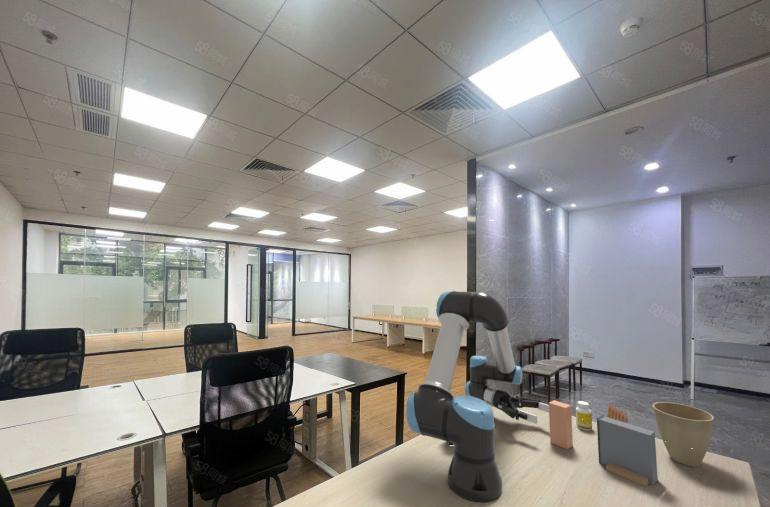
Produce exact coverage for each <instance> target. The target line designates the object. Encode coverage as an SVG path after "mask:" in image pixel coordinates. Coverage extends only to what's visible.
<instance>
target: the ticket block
mask: <svg viewBox="0 0 770 507" xmlns="http://www.w3.org/2000/svg"><path fill="white" fill-rule="evenodd" d="M596 428H597V430H596V432H597V450H598V451H597V452H598V463H599V464H601V465H603V466H605V470H606V471H608V472H611V473H613V474H615V475H618V476H620V477H622V478H626V479H627V480H630V481H631V482H634V483H637V484H639V485H642V486H644V487H647V486H648V485H649V484H650V485H652V486H654V485H655V484H656V483H657V481H658V480H659V479H658V466H657V465H658V463H657V462H658V461H657V447H656V434H655V433H656V431H653V430H649V429H647V428H643V427H640V426H637V425H635V424H631V423H629V422H628V423H625V422H621V421H618V420H615V419H611V418H608V417H607V416H605V415H603V414H601V415H600V416H598V417H597V418H596Z"/></svg>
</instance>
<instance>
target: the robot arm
mask: <svg viewBox="0 0 770 507" xmlns="http://www.w3.org/2000/svg"><path fill="white" fill-rule="evenodd" d="M435 306H436V310H435V313H436V317H437V319H438V321H439V323H440V328H439V332H438V335H437V338H436V342H435V345H434V348H433V351H432V352H433V353H432V356H431V359H430V364H429V367H428V371H427V374H426V377H425V382H422V383H421V384H419V385H418V389H417V391H413V392H411V393H410V395H409V396H408V397H407V400H406V408H405V416H406V417H405V418H406V422H407V425H408V427H409V429H410V430H411V431H412V432H414V433H417V434H420V435H421V436H426V437H430V438H434V439H436V440H441V441H445V442H447V443H448V442H451V443H453V445H454V447H453V454H452V459H451V461H450V464H449V467H448V471H447V482H448V486H449V488H450V489H451V490H452V491H453V492H454V493H455V494H457V495H458V496H460V497H462V498H463V499H466V500H469V501H473V502H478V503H479V502H480V503H481V502H482V503H483V502H490V501H493V500H496V499H498V498H499V497H500V496H501V495H502V492H503V479H502V477H501V475H500V471H499V467H498V464H497V461H496V457H495V456H496V453H495V450H496V447H495V443H496V441H495V425H496V424H495V419H494V411H493V408H496V409H498V410H499V411H502V412H503V413H505V414H506V415H507V416H509V417H510V418H512V419H515V420H517V421H520V419H522V420H524V421H527V422H530V423H532V424H535V425H537V424H538V415H536V414H533V413H530V412H527V411H524V410H522V409H523V408H528V409H529V408H530V409H531V408H532V409H538V410H539V411H542V412H545V413H548V414H549V404H547V403H543V402H542V399H537V398H535V399H534V398H529V397H524V396H519V395H516V396H515V397H514V396H511V395H510V394H509V392H507V391H505V390H503V389H499V388H496V387H493V386H490V385H488V382H489V381H493V382H500V383H503V384H504V383H506V384H509V385H510V384H511V385H521V384H522V383H523V374H524V373H523V368H522V367H521V366H518V365H516V363H515V360H514V355H513V354H514V353H513V350H512V345H511V341H510V336H509V331H508V325H509V319H508V314H507V312H506V310H505V308H504V307H503V306H502V304H501V303H500V302H499V301H498V300H497V299H496V298H494V297H493V296H492V295H490V294H488V293H486V292H483V291H457V290H451V291H444V292H442V294H440V295H439V297H438V299H437V301H436V305H435ZM470 323H479V324H481V325H482V327H483V328H484V329H485V330H486V332H487V335H488V339H489V343H490V346H491V351H492V353H493V354H492V355H493V358H494V362H489V361H488V358H487V356H485V355H484V356H483V355H472V356H471V357H470V359H469V362H470V363H469V376H470V377H469V378H470V379H469V380H468V381H466V384H465V387H464V393H465V395H463V394H462V395H461V394H460V395H457V396H454V395H453V393H452V391H451V388H452V383H453V380H454V375H455V371H456V367H457V362H458V358H459V353H460V349H461V345H462V344H461V343H462V339H463V336H464V331H466V330H468V329H469V327H470ZM519 409H520V410H519Z"/></svg>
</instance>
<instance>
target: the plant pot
mask: <svg viewBox="0 0 770 507" xmlns="http://www.w3.org/2000/svg"><path fill="white" fill-rule="evenodd" d="M652 408H653V409H652V410H653V413H654V418H655V421H656V425H657V428H658V431H659V435H660V437H661V439H662V442H663V444H664V447H665V449H666V451H667V453H668V455H669V457H670V459H672V460H673V461H674V462H678V463H679V464H682V465H685V466H688V467H695V468H697V467H700V466H701V465H702V463H703V461H704V458H705V456H706V455H707V454H706V453H707V451H708V448H709V444H710V442H711V438H712V434H713V433H712V432H713V427H714V420H715V419H714V416H713V415H712V414H711V413H710V412H707V411H705V410H704V409H700V408H698V407H694V406H692V405H687V404H683V403H682V404H681V403H677V402H668V401H667V402H666V401H662V402H661V401H659V402H654V403H653V404H652ZM665 441H666V442H665ZM691 448H693V449H691Z"/></svg>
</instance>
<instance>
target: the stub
mask: <svg viewBox="0 0 770 507" xmlns="http://www.w3.org/2000/svg"><path fill="white" fill-rule="evenodd" d="M548 405H549V413H548V415H549V417H548V419H549V441H550V444H554V446H558V447H560V448H562V449H565V450H569V449H571V448H572V447H573V446H574V442H573V440H574V439H573V438H574V437H573V419H572V405H571V404H568V403H565V402H561V401H558V400H555V399H554V400H552V401H549V402H548Z"/></svg>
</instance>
